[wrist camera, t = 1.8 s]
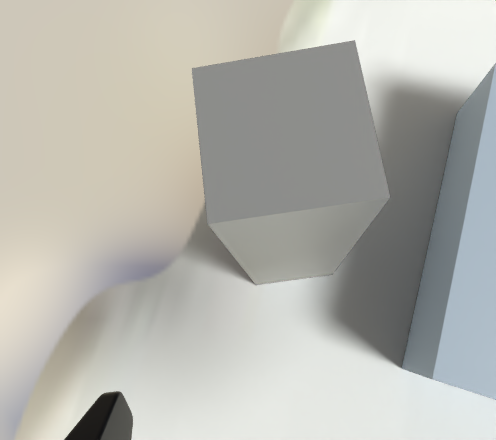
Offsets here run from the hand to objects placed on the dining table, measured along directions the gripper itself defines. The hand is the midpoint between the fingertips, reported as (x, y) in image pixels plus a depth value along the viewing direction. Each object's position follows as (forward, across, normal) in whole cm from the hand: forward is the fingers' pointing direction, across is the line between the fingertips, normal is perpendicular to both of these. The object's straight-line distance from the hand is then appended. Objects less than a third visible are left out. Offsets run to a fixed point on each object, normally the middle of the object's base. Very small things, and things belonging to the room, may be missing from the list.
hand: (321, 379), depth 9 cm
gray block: (+12, 0, +4) cm, 13 cm away
